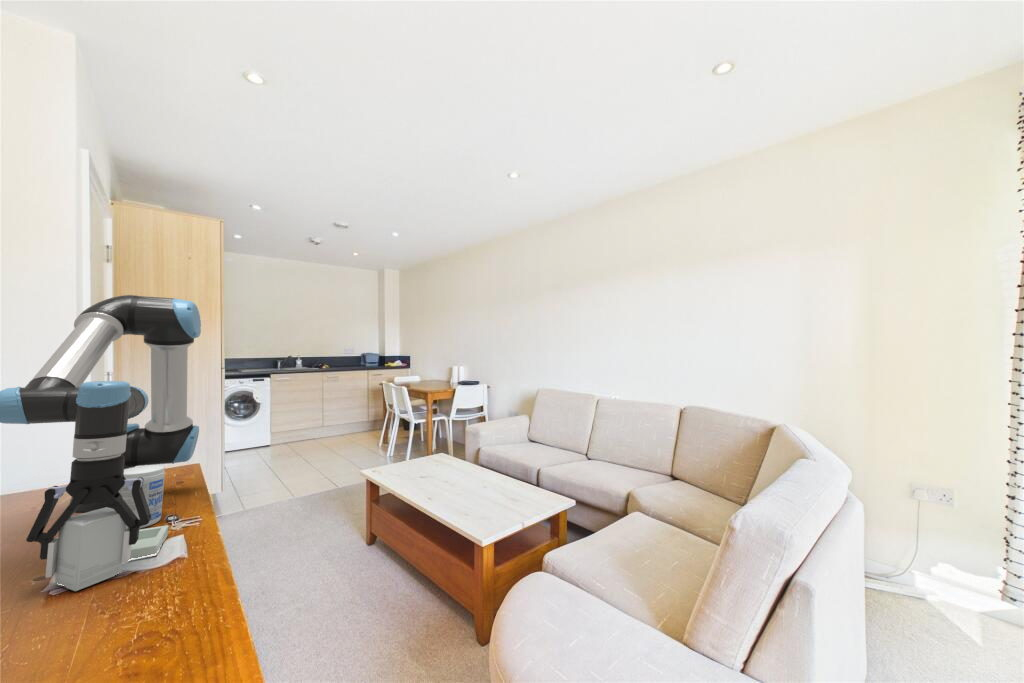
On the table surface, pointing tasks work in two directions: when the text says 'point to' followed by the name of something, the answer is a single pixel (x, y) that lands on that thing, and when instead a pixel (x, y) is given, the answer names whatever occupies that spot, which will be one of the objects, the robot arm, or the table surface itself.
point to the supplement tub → (146, 490)
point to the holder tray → (149, 541)
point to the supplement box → (90, 548)
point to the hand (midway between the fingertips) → (90, 567)
